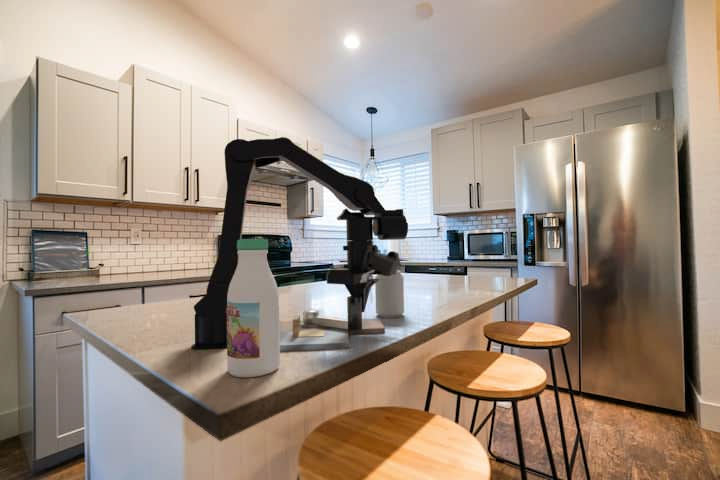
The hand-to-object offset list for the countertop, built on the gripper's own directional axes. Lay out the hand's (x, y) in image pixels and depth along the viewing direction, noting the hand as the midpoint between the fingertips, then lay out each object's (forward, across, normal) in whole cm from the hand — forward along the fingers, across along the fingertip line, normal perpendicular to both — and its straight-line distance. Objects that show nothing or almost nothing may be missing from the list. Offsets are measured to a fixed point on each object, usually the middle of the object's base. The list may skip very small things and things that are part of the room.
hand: (361, 312), depth 75 cm
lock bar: (+3, -3, +6) cm, 7 cm away
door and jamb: (+4, -6, +5) cm, 9 cm away
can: (+5, +18, +1) cm, 19 cm away
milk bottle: (+4, -28, +4) cm, 28 cm away
